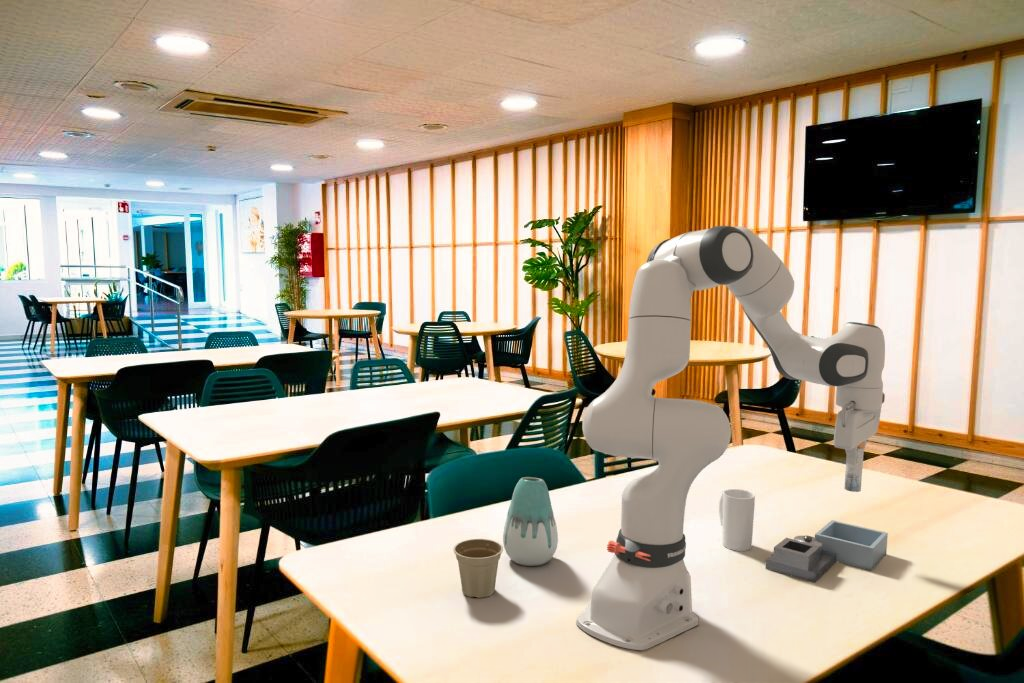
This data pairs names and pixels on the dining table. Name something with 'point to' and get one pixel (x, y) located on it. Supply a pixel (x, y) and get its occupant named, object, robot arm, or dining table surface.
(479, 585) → the flower pot
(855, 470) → the lock pin
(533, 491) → the vase
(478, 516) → the dining table surface
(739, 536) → the mug
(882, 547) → the parts bin
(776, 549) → the block
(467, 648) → the dining table surface
